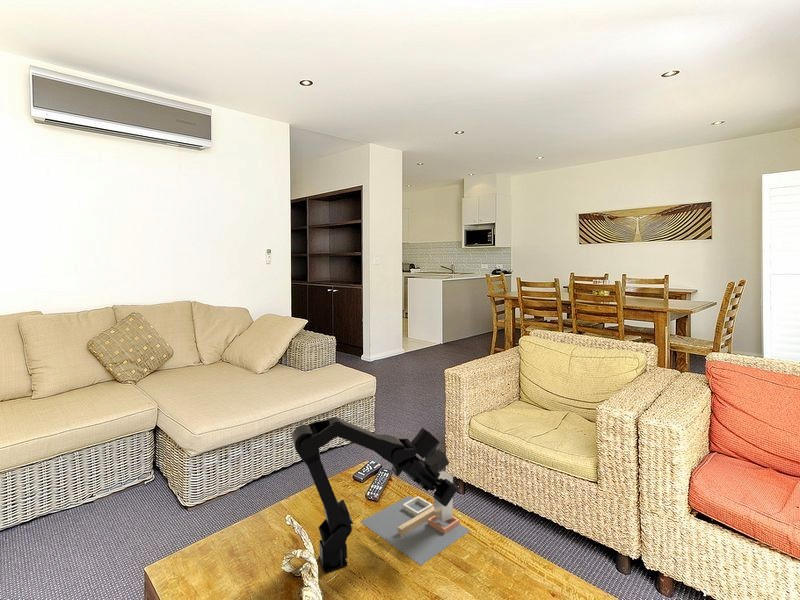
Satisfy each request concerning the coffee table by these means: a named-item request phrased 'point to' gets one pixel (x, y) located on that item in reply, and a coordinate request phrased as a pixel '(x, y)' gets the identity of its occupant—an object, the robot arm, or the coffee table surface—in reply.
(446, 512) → the block
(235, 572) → the coffee table surface
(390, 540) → the door board
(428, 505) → the socket
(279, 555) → the coffee table surface
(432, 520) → the socket
